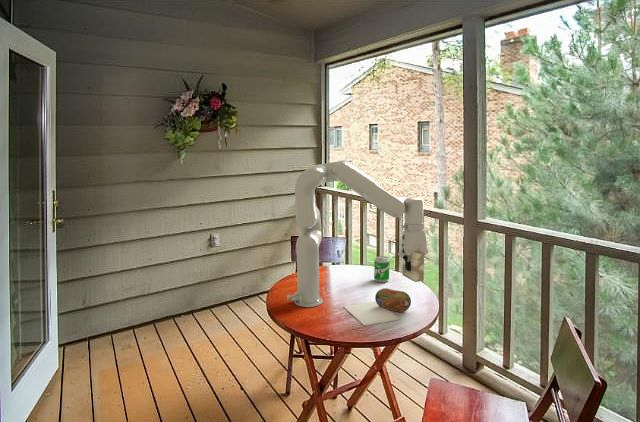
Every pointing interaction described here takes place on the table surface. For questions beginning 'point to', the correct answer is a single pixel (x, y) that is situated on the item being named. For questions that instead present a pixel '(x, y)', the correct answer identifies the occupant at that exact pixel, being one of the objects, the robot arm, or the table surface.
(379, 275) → the soda can
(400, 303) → the tin
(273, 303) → the table surface
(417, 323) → the table surface
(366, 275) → the table surface
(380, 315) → the mat
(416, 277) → the beige box
